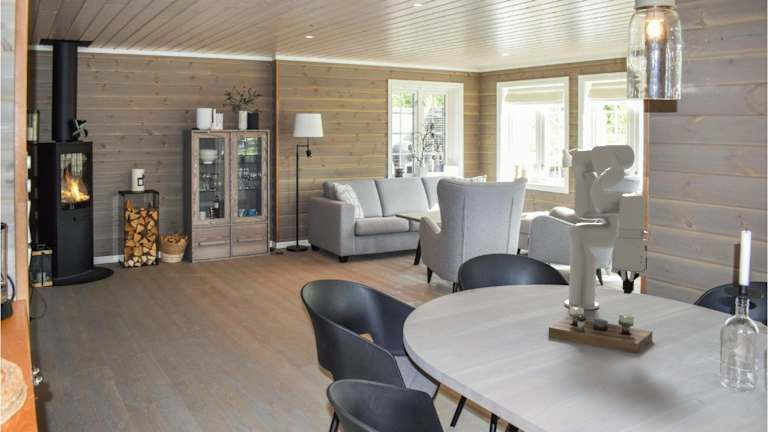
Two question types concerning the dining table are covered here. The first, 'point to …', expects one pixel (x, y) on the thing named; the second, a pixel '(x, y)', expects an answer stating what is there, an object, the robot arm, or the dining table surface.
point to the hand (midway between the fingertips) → (627, 292)
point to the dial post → (581, 322)
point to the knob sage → (626, 323)
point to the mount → (602, 335)
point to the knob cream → (574, 312)
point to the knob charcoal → (600, 324)
